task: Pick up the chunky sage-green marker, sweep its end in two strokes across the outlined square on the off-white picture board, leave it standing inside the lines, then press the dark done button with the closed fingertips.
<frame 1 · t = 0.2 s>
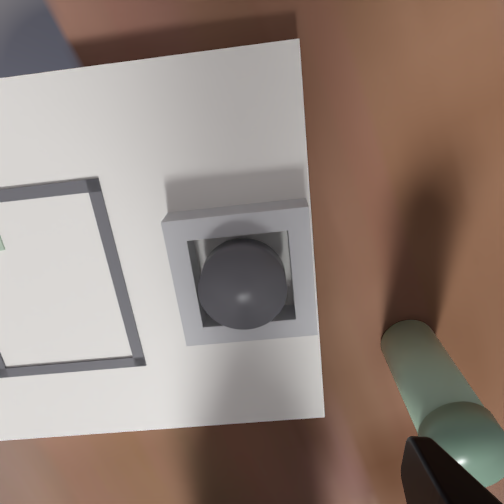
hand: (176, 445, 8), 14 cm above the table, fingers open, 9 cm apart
marker: (407, 342, 24), on the table
done button: (243, 283, 20), point 3 cm above the table, slide at 0.0 cm
board: (124, 272, 23), on the table
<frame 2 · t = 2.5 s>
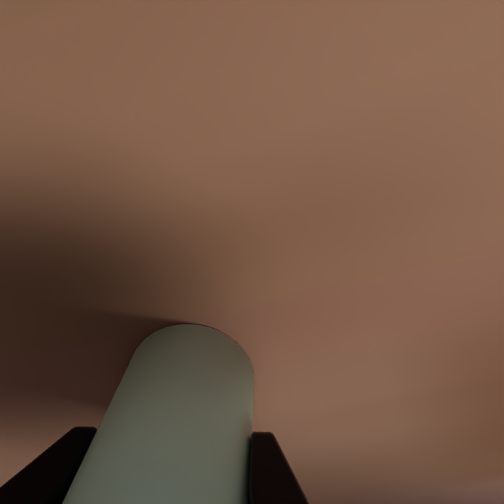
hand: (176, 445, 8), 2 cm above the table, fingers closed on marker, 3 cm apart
marker: (191, 378, 10), on the table, touching gripper
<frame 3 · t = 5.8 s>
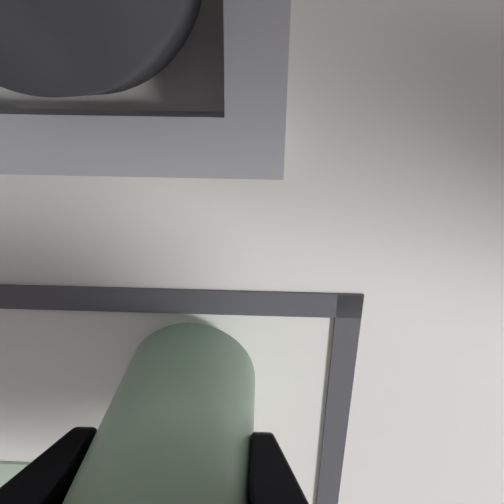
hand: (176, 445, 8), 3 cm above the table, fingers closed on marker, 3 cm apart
marker: (192, 377, 10), point 1 cm above the table, touching gripper
board: (145, 280, 11), on the table
when the fingers open (3 cm above the table, at t = 8.1 s): marker stays where it is, resting on board.
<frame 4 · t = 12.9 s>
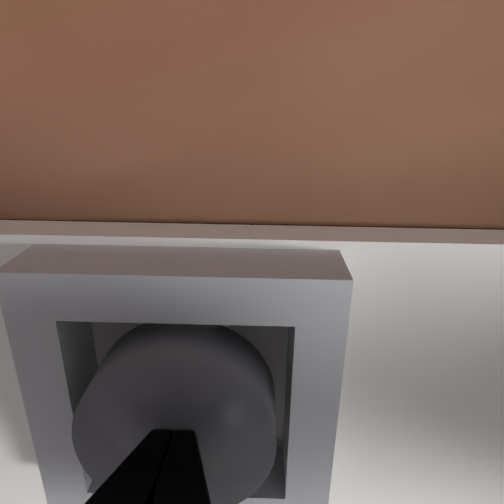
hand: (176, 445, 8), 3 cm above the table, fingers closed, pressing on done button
done button: (181, 417, 9), point 2 cm above the table, slide at 0.3 cm, touching gripper
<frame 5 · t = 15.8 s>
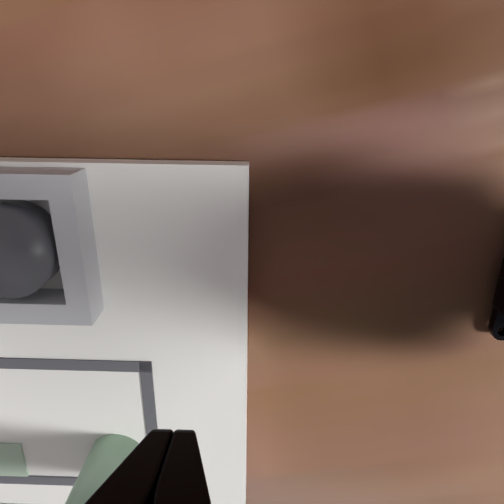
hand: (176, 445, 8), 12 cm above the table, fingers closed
marker: (118, 455, 23), point 1 cm above the table, touching board
done button: (10, 248, 18), point 2 cm above the table, slide at 0.9 cm
board: (55, 351, 22), on the table
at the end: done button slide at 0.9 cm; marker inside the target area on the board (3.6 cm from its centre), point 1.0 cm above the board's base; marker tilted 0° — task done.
